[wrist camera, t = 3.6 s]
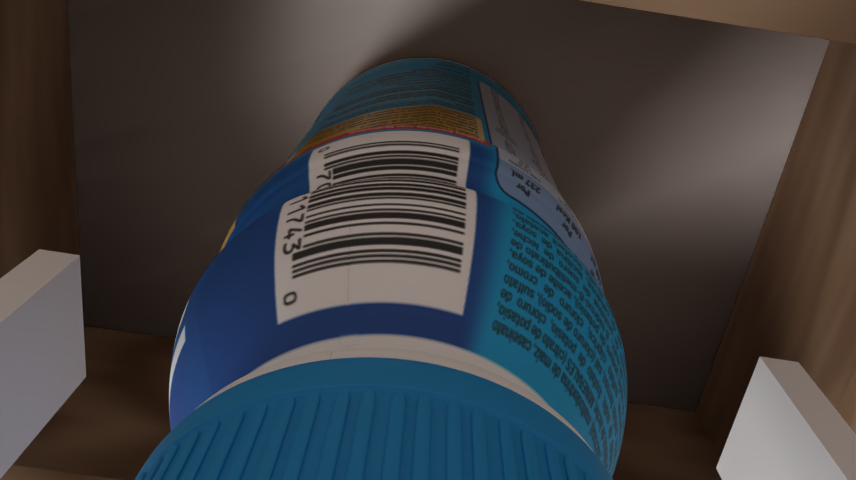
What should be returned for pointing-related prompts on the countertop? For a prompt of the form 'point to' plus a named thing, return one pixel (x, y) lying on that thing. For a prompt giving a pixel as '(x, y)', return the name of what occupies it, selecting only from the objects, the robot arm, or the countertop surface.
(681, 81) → the countertop surface
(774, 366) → the robot arm
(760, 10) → the walnut box
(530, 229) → the beverage bottle
